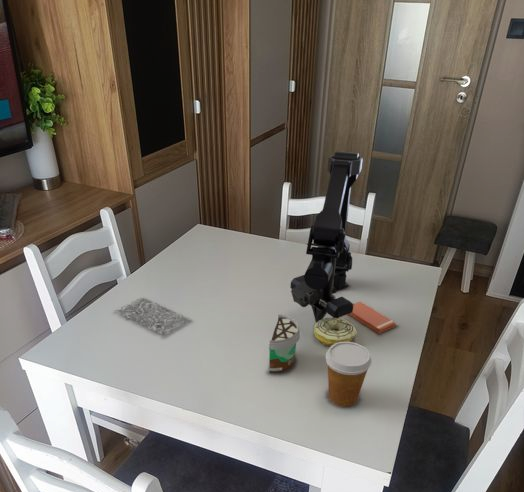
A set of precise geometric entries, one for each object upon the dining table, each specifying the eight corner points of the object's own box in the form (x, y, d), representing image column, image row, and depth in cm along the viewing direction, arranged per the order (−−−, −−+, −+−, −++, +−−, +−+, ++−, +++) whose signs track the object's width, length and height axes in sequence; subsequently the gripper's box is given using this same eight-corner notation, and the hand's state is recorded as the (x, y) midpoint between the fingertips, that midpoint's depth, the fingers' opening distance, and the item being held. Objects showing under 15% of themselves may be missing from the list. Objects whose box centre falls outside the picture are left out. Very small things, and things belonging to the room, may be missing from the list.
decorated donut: (362, 336, 126) (364, 324, 124) (338, 354, 120) (340, 342, 117) (330, 321, 132) (331, 309, 130) (305, 337, 125) (306, 325, 123)
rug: (142, 298, 141) (141, 295, 141) (190, 321, 131) (190, 318, 131) (114, 312, 135) (114, 309, 134) (163, 337, 125) (163, 334, 124)
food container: (294, 380, 111) (296, 345, 106) (268, 377, 112) (269, 341, 107) (301, 349, 121) (304, 315, 116) (277, 346, 122) (278, 312, 117)
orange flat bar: (342, 311, 137) (343, 306, 136) (359, 304, 140) (359, 300, 139) (379, 334, 127) (379, 329, 126) (395, 326, 130) (396, 322, 130)
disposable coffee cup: (317, 384, 110) (322, 341, 103) (358, 382, 111) (365, 339, 104) (325, 413, 102) (330, 368, 96) (370, 411, 103) (378, 366, 96)
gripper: (275, 264, 123) (273, 315, 132) (322, 295, 111) (317, 349, 120) (309, 253, 128) (305, 304, 137) (358, 282, 116) (350, 335, 125)
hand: (318, 322), depth 130 cm, fingers closed
